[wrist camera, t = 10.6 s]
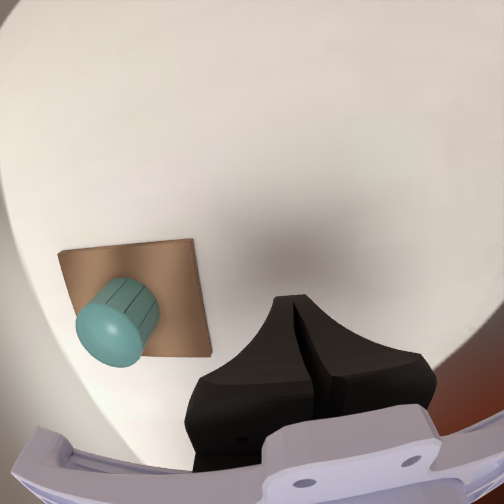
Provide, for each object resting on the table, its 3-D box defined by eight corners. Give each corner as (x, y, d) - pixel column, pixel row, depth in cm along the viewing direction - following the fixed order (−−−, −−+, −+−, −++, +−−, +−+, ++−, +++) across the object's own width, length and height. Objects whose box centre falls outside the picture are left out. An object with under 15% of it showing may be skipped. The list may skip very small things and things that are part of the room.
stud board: (192, 238, 21) (180, 256, 18) (211, 351, 24) (206, 379, 21) (62, 250, 22) (38, 266, 18) (94, 347, 25) (78, 370, 21)
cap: (151, 276, 21) (129, 305, 17) (165, 334, 23) (149, 369, 19) (94, 278, 21) (66, 305, 17) (111, 333, 23) (90, 364, 19)
